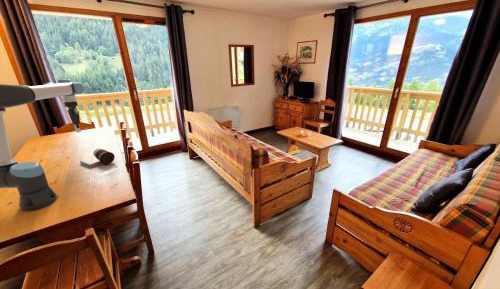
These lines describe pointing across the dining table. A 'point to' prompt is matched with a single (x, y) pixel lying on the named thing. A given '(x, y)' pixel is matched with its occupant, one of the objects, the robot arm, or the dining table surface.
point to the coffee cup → (104, 156)
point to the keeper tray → (90, 164)
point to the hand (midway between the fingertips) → (78, 132)
